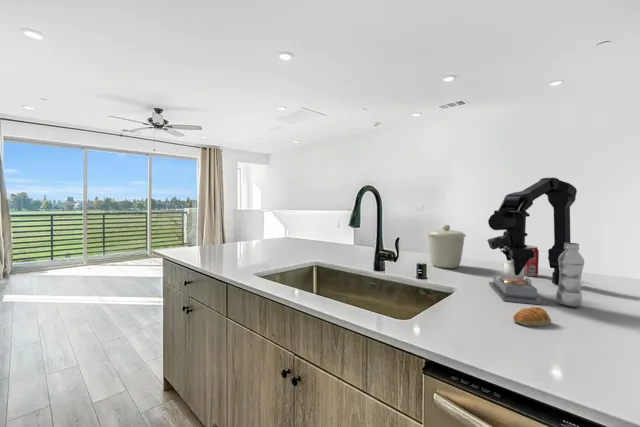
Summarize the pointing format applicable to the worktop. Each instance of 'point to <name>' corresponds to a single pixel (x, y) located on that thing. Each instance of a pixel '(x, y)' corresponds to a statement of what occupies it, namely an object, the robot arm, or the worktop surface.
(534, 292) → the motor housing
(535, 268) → the soda can
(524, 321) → the pastry
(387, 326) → the worktop surface
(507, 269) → the white rounded piece
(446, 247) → the canister
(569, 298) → the plastic bottle
